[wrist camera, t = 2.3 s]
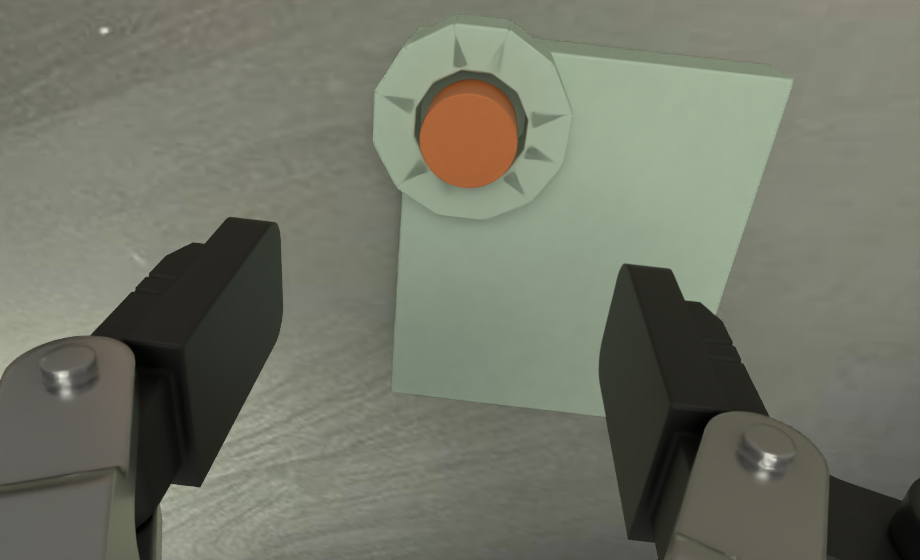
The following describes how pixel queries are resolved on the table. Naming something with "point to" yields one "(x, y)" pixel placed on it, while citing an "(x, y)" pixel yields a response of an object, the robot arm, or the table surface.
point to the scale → (562, 203)
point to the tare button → (469, 134)
